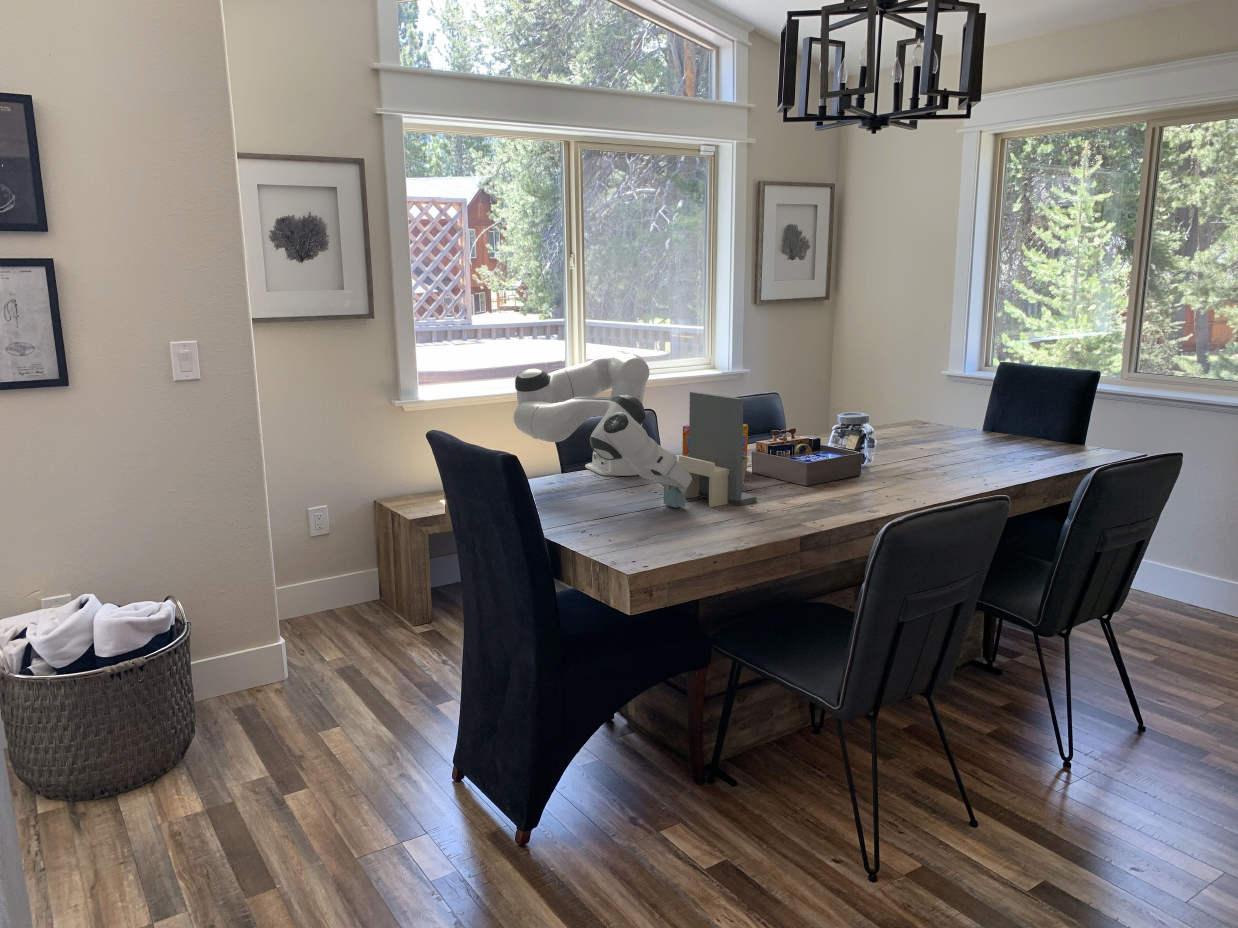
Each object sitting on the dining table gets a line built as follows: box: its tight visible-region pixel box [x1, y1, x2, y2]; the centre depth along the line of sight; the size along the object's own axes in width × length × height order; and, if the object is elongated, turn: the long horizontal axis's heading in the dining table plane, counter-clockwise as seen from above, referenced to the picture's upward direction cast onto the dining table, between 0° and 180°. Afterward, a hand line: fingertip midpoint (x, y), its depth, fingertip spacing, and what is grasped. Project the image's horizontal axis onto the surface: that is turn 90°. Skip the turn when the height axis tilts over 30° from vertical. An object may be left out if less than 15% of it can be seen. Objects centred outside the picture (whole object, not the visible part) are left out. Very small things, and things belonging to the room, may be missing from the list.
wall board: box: [678, 391, 758, 508], centre depth 258 cm, size 20×14×30 cm
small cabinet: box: [663, 484, 686, 508], centre depth 251 cm, size 5×4×8 cm
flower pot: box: [742, 456, 750, 487], centre depth 276 cm, size 9×9×9 cm
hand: (676, 488), depth 251 cm, fingers closed on small cabinet, 5 cm apart
